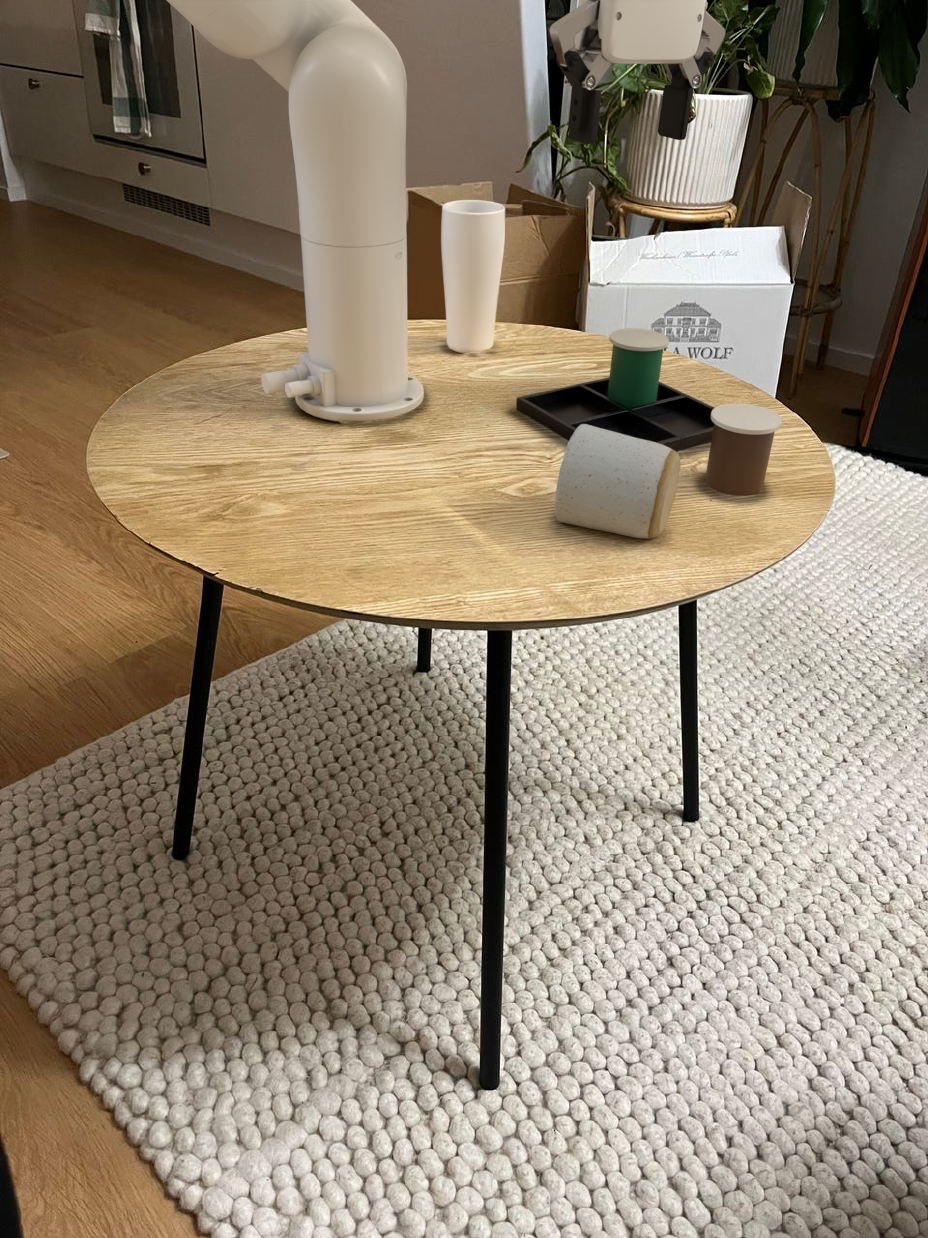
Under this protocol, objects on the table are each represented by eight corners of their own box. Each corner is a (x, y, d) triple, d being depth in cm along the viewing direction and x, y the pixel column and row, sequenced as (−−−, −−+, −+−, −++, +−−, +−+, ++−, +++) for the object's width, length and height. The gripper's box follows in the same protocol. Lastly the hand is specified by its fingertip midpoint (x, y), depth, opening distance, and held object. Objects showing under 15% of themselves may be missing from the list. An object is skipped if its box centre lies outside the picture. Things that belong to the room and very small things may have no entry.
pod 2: (732, 508, 81) (747, 435, 77) (685, 482, 85) (696, 410, 81) (781, 493, 83) (797, 421, 80) (732, 468, 87) (745, 398, 84)
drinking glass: (502, 339, 115) (508, 200, 106) (497, 359, 109) (504, 214, 101) (443, 336, 115) (445, 198, 107) (436, 355, 110) (437, 211, 101)
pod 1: (627, 416, 95) (635, 350, 92) (591, 397, 99) (597, 333, 96) (671, 405, 98) (681, 341, 94) (634, 387, 102) (642, 324, 98)
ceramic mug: (655, 559, 74) (670, 463, 69) (549, 538, 76) (557, 443, 72) (682, 501, 82) (696, 412, 78) (585, 483, 84) (594, 396, 80)
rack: (615, 473, 86) (617, 455, 85) (515, 413, 96) (516, 397, 95) (741, 438, 93) (744, 421, 92) (635, 386, 103) (637, 370, 102)
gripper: (710, -98, 83) (676, 129, 92) (537, -113, 75) (520, 135, 85) (775, -98, 78) (732, 142, 87) (596, -115, 70) (570, 150, 80)
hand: (627, 139), depth 86 cm, fingers open, 9 cm apart
